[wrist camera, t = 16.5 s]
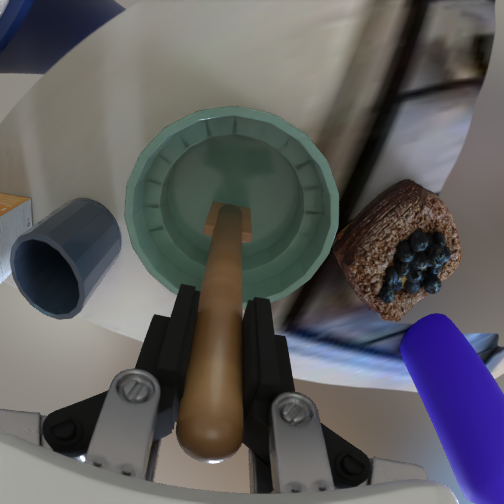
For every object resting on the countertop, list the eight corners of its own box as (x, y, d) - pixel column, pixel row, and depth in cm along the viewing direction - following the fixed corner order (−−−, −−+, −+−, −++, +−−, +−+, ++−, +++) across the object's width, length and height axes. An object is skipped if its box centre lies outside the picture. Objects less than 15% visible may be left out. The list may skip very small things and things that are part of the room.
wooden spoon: (213, 193, 22) (146, 436, 5) (252, 201, 23) (276, 452, 6) (209, 215, 23) (150, 461, 6) (247, 222, 23) (258, 475, 6)
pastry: (316, 247, 26) (334, 283, 21) (413, 161, 22) (451, 177, 17) (376, 311, 30) (396, 348, 25) (456, 241, 26) (488, 267, 21)
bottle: (397, 324, 31) (498, 555, 4) (453, 301, 30) (571, 495, 3) (396, 366, 35) (467, 558, 8) (446, 344, 34) (532, 515, 7)
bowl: (161, 96, 20) (138, 93, 15) (339, 133, 22) (365, 140, 17) (143, 256, 26) (123, 290, 21) (293, 283, 28) (303, 321, 23)
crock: (55, 193, 23) (3, 226, 16) (123, 203, 24) (80, 243, 16) (60, 261, 26) (19, 306, 19) (121, 275, 27) (89, 329, 20)
